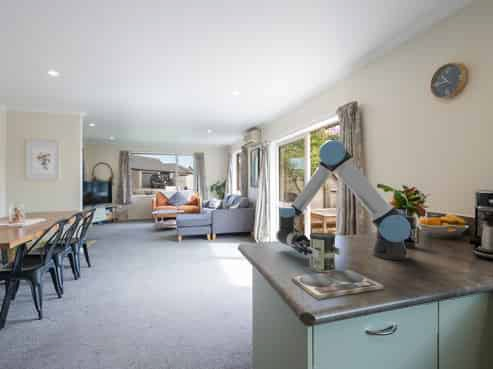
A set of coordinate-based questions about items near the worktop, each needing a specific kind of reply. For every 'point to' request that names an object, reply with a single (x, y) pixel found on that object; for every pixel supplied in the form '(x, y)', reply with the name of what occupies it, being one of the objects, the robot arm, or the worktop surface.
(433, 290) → the worktop surface
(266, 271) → the worktop surface
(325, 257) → the coffee can
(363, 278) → the board
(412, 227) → the french press
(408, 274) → the worktop surface
